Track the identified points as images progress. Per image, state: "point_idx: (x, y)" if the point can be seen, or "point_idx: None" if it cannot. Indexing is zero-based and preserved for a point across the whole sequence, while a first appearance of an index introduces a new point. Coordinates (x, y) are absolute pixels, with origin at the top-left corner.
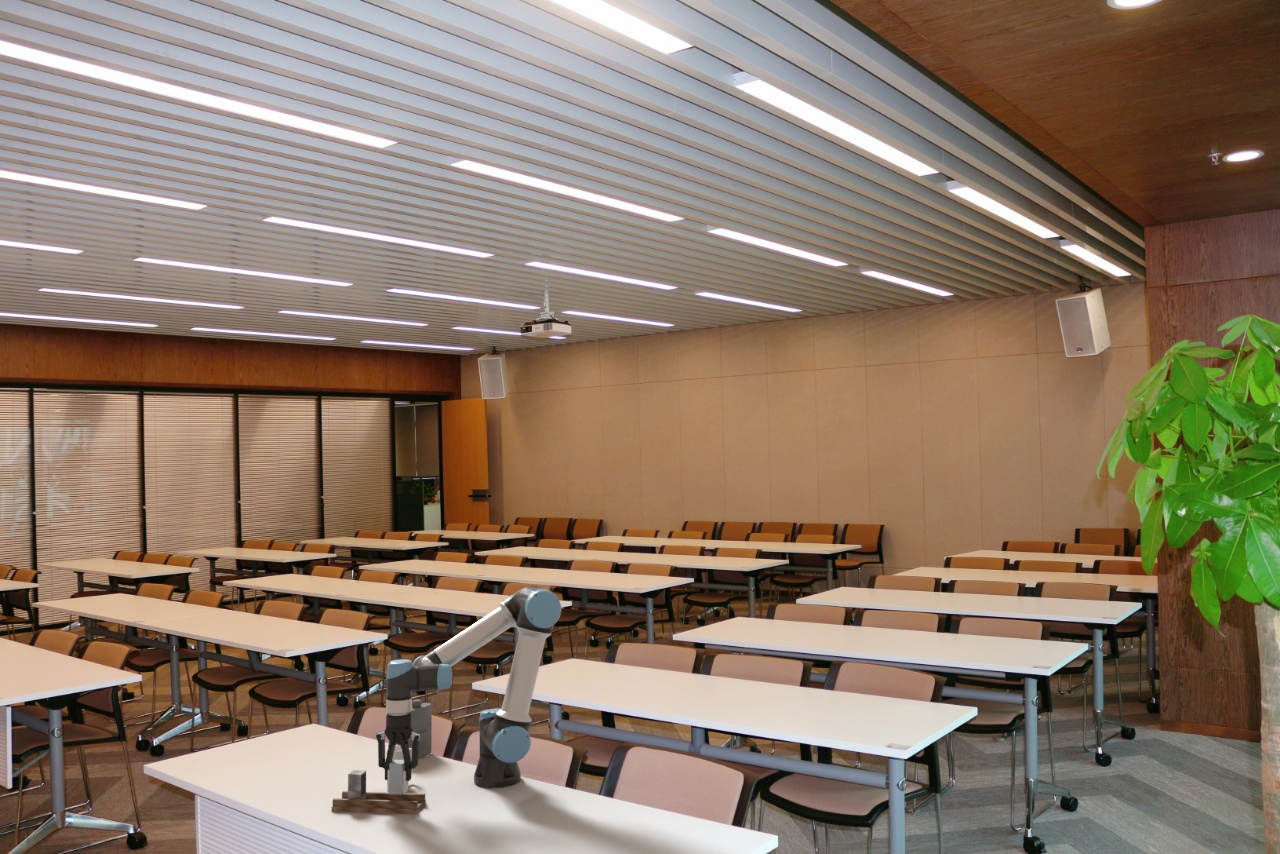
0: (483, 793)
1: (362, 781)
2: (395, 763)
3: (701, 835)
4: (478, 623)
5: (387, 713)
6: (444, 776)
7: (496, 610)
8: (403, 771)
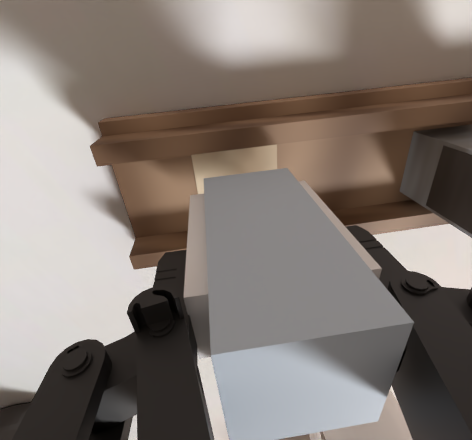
0: (9, 370)
1: None
2: (325, 345)
3: None
4: None
5: None
6: (223, 418)
7: None
8: (204, 289)
